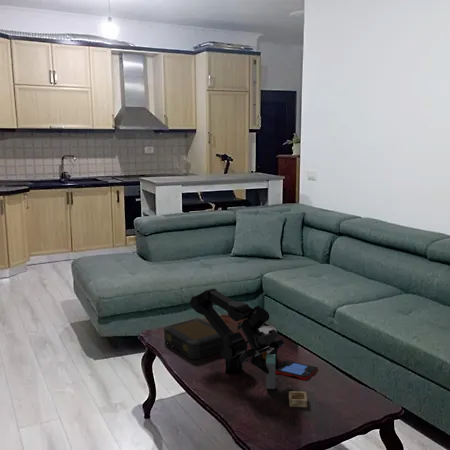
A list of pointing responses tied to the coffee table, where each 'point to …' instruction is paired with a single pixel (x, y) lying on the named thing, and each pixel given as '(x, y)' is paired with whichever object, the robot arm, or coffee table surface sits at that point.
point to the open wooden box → (297, 399)
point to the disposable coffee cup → (266, 331)
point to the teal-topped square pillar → (270, 371)
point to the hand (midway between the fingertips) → (273, 371)
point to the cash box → (194, 338)
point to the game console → (296, 370)
